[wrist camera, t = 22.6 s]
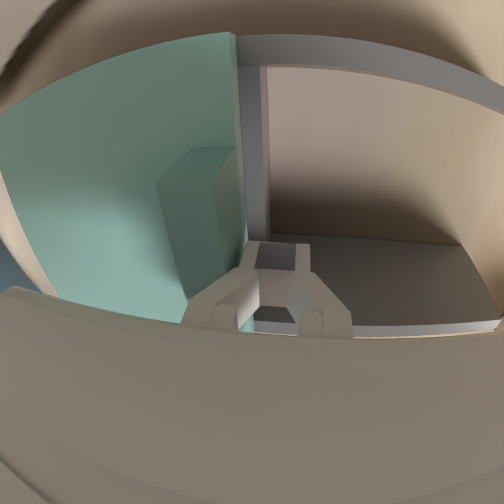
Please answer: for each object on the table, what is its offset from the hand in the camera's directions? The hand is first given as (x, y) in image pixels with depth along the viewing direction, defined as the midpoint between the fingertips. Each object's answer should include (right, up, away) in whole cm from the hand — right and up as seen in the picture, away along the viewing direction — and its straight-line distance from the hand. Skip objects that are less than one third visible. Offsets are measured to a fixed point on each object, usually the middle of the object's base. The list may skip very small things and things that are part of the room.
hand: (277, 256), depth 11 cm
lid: (-9, +2, +3) cm, 9 cm away
